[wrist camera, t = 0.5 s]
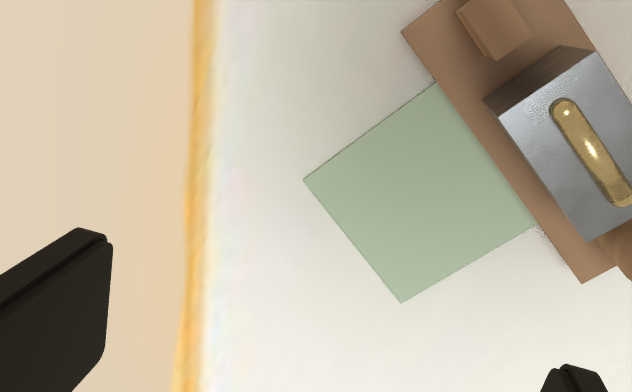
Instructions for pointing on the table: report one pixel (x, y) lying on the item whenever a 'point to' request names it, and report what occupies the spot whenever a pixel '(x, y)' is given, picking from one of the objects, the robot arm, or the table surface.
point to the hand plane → (493, 71)
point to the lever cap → (572, 135)
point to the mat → (420, 195)
